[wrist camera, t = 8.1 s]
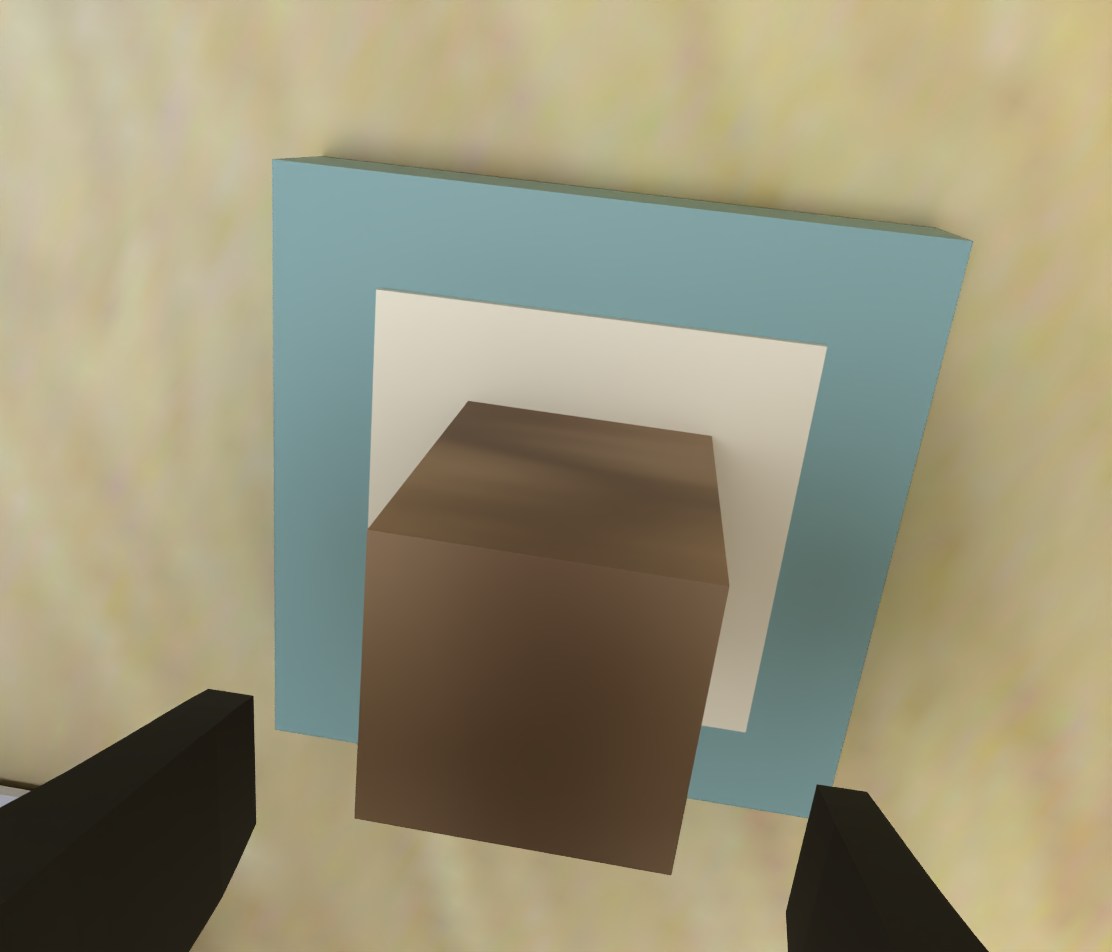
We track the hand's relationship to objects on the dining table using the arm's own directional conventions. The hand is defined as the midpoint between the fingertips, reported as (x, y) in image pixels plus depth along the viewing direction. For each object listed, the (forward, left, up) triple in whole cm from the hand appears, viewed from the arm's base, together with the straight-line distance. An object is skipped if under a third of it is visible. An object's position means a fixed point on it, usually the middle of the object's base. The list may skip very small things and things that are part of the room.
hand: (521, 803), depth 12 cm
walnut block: (0, +1, -7) cm, 7 cm away
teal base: (0, +1, -9) cm, 9 cm away
